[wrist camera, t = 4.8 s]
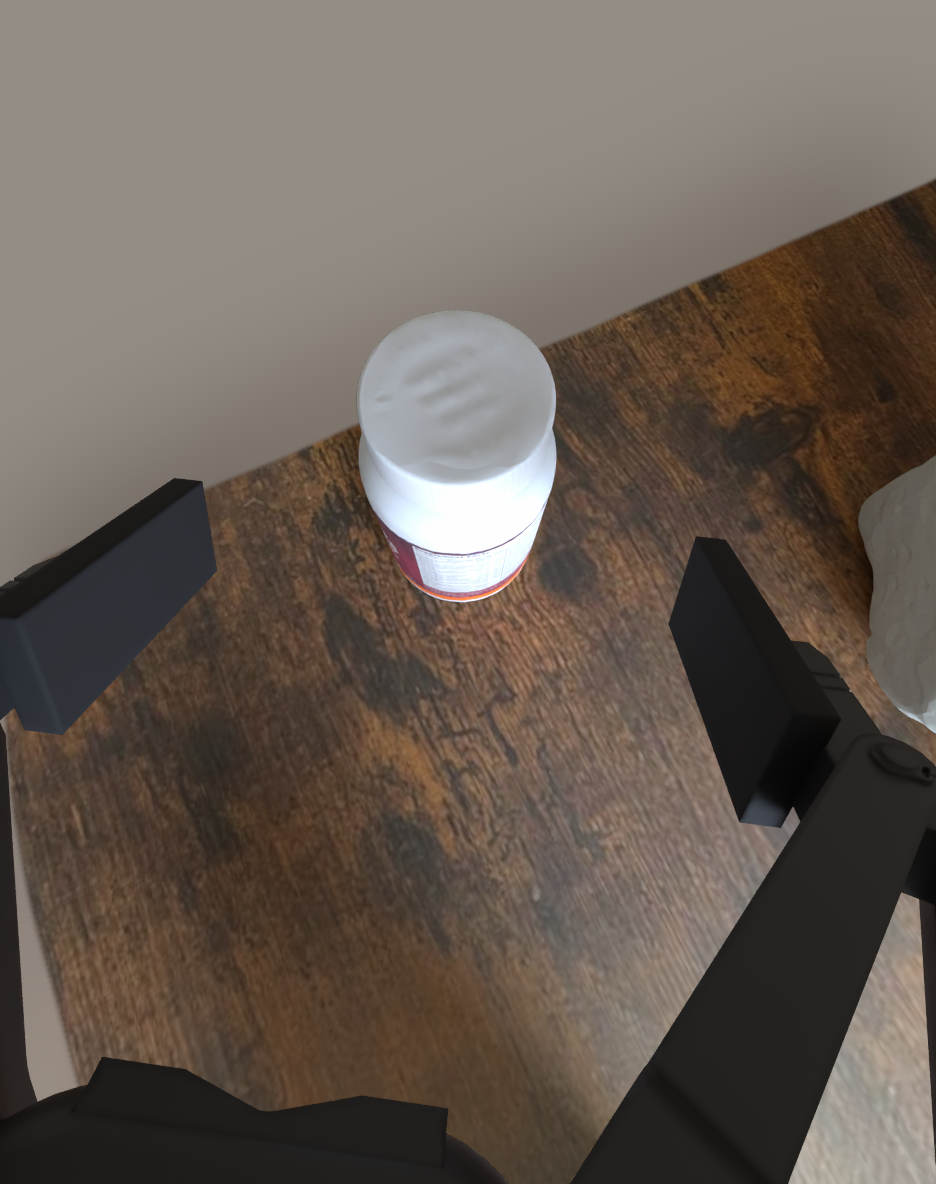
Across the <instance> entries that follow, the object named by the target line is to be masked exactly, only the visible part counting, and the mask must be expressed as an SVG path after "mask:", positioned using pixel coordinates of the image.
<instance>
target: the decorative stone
mask: <svg viewBox="0 0 936 1184" xmlns="http://www.w3.org/2000/svg"><path fill="white" fill-rule="evenodd" d="M858 526H859V530H860V533H861V536H862V539H863V541H864V548H865V550H866V553H867V556H868V559H869V561H870V563H871V566H872V568H873V577H874V578H873V583H874V590H873V594H872V601H871V607H870V614H869V627H870V629H871V632H872V634H871V635H870V637H869V638H868V640H867V642H866V647H865V651H866V656H867V660H868V664H869V667H870V670H871V672H872V674H873V676H874V677H875V679H876V680H877V682H878V684H879V686H880V687H881V689H882V691H883V692H884V693H885V694H886V695H887V696H888V698H889V699H890V700H891V701H892V702H893V703H894V705H895V706H896V707H897V708H898V709H899V710H900V711H902V712H903V713H904V714H905V715H907V716H908V717H910V718H913V719H915V720H917V721H919V722H921V723H923V724H924V725H925V726H926V727H927V728H929V729H930V730H932V731H933V732H934V733H936V455H935V456H934V457H932V458H931V459H929V460H928V461H927V462H926V463H924V464H923V465H922V466H919V467H916V468H913V469H911V470H910V471H908V472H906V473H904V474H902V475H901V476H899V477H898V478H896V479H895V480H893V481H892V482H890V483H889V484H887V485H886V486H884V487H883V488H881V489H879V490H878V491H876V492H875V493H874V494H873V495H871V496H870V497H869V498H868V499H866V501H865V502H864V504H863V505H862V507H861V510H860V513H859V517H858Z"/></svg>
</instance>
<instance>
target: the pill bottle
mask: <svg viewBox="0 0 936 1184" xmlns="http://www.w3.org/2000/svg"><path fill="white" fill-rule="evenodd" d="M356 399H357V414H358V420H359V423H360V427H361V431H362V434H361V438H360V445H359V469H360V476H361V480H362V483H363V486H364V489H365V492H366V495H367V498H368V501H369V503H370V505H371V508H372V509H373V511H374V513H375V514H376V517H377V519H378V521H379V523H380V526H381V529H382V531H383V533H384V535H385V538H386V540H387V543H388V545H389V547H390V549H391V552H392V554H393V556H394V559H395V561H396V563H397V565H398V567H399V568H400V570H401V571H402V573H403V574H404V575H405V577H406V578H407V579H408V580H409V581H410V582H411V583H412V584H413V585H415V586H416V587H417V588H419V589H420V590H421V591H423V592H425V593H427V594H428V595H431V596H433V597H435V598H438V599H442V600H446V601H454V602H468V601H475V600H479V599H483V598H486V597H488V596H490V595H493V594H495V593H496V592H498V591H500V590H501V589H503V588H504V587H505V586H507V585H508V584H509V583H510V582H511V581H512V580H513V579H514V578H515V577H516V575H517V574H518V573H519V572H520V570H521V569H522V567H523V565H524V563H525V562H526V559H527V557H528V555H529V552H530V550H531V547H532V544H533V541H534V538H535V535H536V532H537V529H538V526H539V523H540V520H541V517H542V514H543V511H544V509H545V506H546V503H547V500H548V497H549V494H550V491H551V489H552V484H553V480H554V475H555V469H556V444H555V438H554V434H553V430H552V426H553V421H554V416H555V409H556V392H555V385H554V380H553V377H552V374H551V370H550V368H549V366H548V364H547V362H546V360H545V358H544V356H543V355H542V353H541V352H540V350H539V349H538V348H537V346H536V345H535V344H534V343H533V342H532V341H531V340H530V339H529V338H528V337H527V336H526V335H525V334H524V333H522V332H521V331H520V330H518V329H517V328H515V327H514V326H512V325H510V324H509V323H507V322H505V321H503V320H501V319H499V318H497V317H494V316H491V315H488V314H484V313H479V312H475V311H467V310H447V311H439V312H432V313H429V314H426V315H422V316H419V317H416V318H414V319H412V320H410V321H408V322H406V323H404V324H402V325H401V326H399V327H398V328H396V329H394V330H393V331H392V332H391V333H390V334H388V335H387V336H386V337H384V338H383V340H382V341H381V342H379V344H378V345H377V346H376V347H375V348H374V350H373V351H372V353H371V354H370V356H369V357H368V359H367V361H366V363H365V365H364V367H363V369H362V372H361V375H360V379H359V382H358V387H357V396H356Z"/></svg>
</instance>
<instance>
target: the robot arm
mask: <svg viewBox="0 0 936 1184" xmlns="http://www.w3.org/2000/svg"><path fill="white" fill-rule="evenodd" d="M216 571H217V568H216V562H215V556H214V549H213V543H212V537H211V531H210V525H209V519H208V513H207V507H206V501H205V495H204V489H203V483H202V481H195V480H186V479H176V478H174V479H172V480H171V481H169V482H168V483H166V484H165V485H163V486H162V487H161V488H159V489H158V490H156V491H155V492H153V493H152V494H150V495H149V496H147V497H146V498H144V499H143V500H141V501H140V502H138V503H137V504H135V505H134V506H132V507H131V508H129V509H128V510H126V511H125V512H123V513H122V514H121V515H119V516H118V517H116V518H115V519H113V520H112V521H110V522H109V523H107V524H106V525H104V526H103V527H101V528H100V529H98V530H97V531H95V532H94V533H92V534H91V535H89V536H88V537H86V538H85V539H83V540H82V541H80V542H79V543H77V544H76V545H75V546H73V547H72V548H70V549H69V550H67V551H66V552H64V553H63V554H61V555H60V556H57V557H54V558H52V559H49V560H46V561H44V562H41V563H39V564H36V565H33V566H32V567H30V568H29V569H27V570H26V571H24V572H23V573H21V574H20V575H18V576H17V577H15V578H14V581H9V582H7V583H6V584H4V585H3V586H1V587H0V720H1V719H2V718H3V717H4V716H5V715H7V714H8V713H9V712H10V711H11V710H12V709H13V708H14V707H15V709H16V712H17V714H18V716H19V719H20V721H21V723H22V726H23V728H24V730H28V731H35V732H43V733H51V734H59V735H63V734H64V733H65V731H66V730H67V729H68V728H69V727H70V726H71V725H72V724H73V723H74V722H75V721H76V720H77V719H78V718H79V717H80V716H81V715H82V713H83V712H84V711H85V710H86V709H87V708H88V707H89V706H90V705H91V704H92V703H93V702H94V701H95V700H96V699H97V698H98V696H99V695H100V694H101V693H102V692H103V691H104V690H105V689H106V688H107V687H108V686H109V685H110V684H111V683H112V682H113V681H114V680H115V678H116V677H117V676H118V675H119V674H120V673H121V672H122V671H123V670H124V669H125V668H126V667H127V666H128V665H129V664H130V663H131V661H132V660H133V659H134V658H135V657H136V656H137V655H138V654H139V653H140V652H141V651H142V650H143V649H144V648H145V647H146V646H147V644H148V643H149V642H150V641H151V640H152V639H153V638H154V637H155V636H156V635H157V634H158V633H159V632H160V631H161V630H162V629H163V628H164V626H165V625H166V624H167V623H168V622H169V621H170V620H171V619H172V618H173V617H174V616H175V615H176V614H177V613H178V612H179V611H180V609H181V608H182V607H183V606H184V605H185V604H186V603H187V602H188V601H189V600H190V599H191V598H192V597H193V596H194V595H195V594H196V593H197V591H198V590H199V589H200V588H201V587H202V586H203V585H204V584H205V583H206V582H207V581H208V580H209V579H210V578H211V577H212V576H213V574H214V573H215V572H216ZM669 626H670V629H671V632H672V635H673V637H674V640H675V643H676V646H677V649H678V651H679V654H680V657H681V660H682V663H683V665H684V668H685V671H686V674H687V677H688V679H689V682H690V685H691V688H692V691H693V693H694V696H695V699H696V702H697V705H698V708H699V710H700V713H701V716H702V719H703V722H704V724H705V727H706V730H707V733H708V736H709V738H710V741H711V744H712V747H713V750H714V752H715V755H716V758H717V761H718V764H719V766H720V769H721V772H722V775H723V778H724V780H725V783H726V786H727V789H728V792H729V794H730V797H731V800H732V803H733V806H734V808H735V811H736V814H737V817H738V820H739V822H741V823H748V824H756V825H764V826H772V827H779V828H781V826H782V825H783V823H784V821H785V819H786V818H787V816H788V814H789V812H790V810H791V809H792V807H794V809H795V811H796V813H797V815H798V817H799V820H800V824H799V825H798V827H797V828H796V830H795V832H794V833H793V835H792V836H791V838H790V839H789V841H788V843H787V844H786V846H785V847H784V849H783V851H782V852H781V854H780V855H779V857H778V858H777V860H776V862H775V863H774V865H773V866H772V868H771V870H770V871H769V873H768V874H767V876H766V877H765V879H764V881H763V882H762V884H761V885H760V887H759V889H758V890H757V892H756V893H755V895H754V896H753V898H752V900H751V901H750V903H749V904H748V906H747V908H746V909H745V911H744V912H743V914H742V915H741V917H740V919H739V920H738V922H737V923H736V925H735V927H734V928H733V930H732V931H731V933H730V934H729V936H728V938H727V939H726V941H725V942H724V944H723V946H722V947H721V949H720V950H719V952H718V953H717V955H716V957H715V958H714V960H713V961H712V963H711V965H710V966H709V968H708V969H707V971H706V972H705V974H704V976H703V977H702V979H701V980H700V982H699V984H698V985H697V987H696V988H695V990H694V991H693V993H692V995H691V996H690V998H689V999H688V1001H687V1003H686V1004H685V1006H684V1007H683V1009H682V1011H681V1012H680V1014H679V1015H678V1017H677V1018H676V1020H675V1022H674V1023H673V1025H672V1026H671V1028H670V1030H669V1031H668V1033H667V1034H666V1036H665V1037H664V1039H663V1041H662V1042H661V1044H660V1045H659V1047H658V1049H657V1050H656V1052H655V1053H654V1055H653V1056H652V1058H651V1059H650V1061H649V1062H648V1064H647V1065H646V1066H645V1067H644V1069H643V1070H642V1072H641V1073H640V1075H639V1076H638V1077H637V1079H636V1081H635V1082H634V1084H633V1085H632V1087H631V1088H630V1090H629V1091H628V1093H627V1095H626V1096H625V1098H624V1099H623V1101H622V1102H621V1104H620V1106H619V1107H618V1109H617V1110H616V1112H615V1113H614V1115H613V1117H612V1118H611V1120H610V1121H609V1123H608V1125H607V1126H606V1128H605V1129H604V1131H603V1132H602V1134H601V1136H600V1137H599V1139H598V1140H597V1142H596V1143H595V1145H594V1147H593V1148H592V1150H591V1151H590V1153H589V1154H588V1156H587V1158H586V1159H585V1161H584V1162H583V1164H582V1166H581V1167H580V1169H579V1170H578V1172H577V1173H576V1175H575V1177H574V1178H573V1180H572V1181H571V1183H570V1184H788V1183H789V1180H790V1177H791V1174H792V1172H793V1169H794V1166H795V1164H796V1161H797V1159H798V1156H799V1154H800V1151H801V1148H802V1146H803V1143H804V1141H805V1138H806V1136H807V1133H808V1130H809V1128H810V1125H811V1123H812V1120H813V1118H814V1115H815V1112H816V1110H817V1107H818V1105H819V1102H820V1100H821V1097H822V1094H823V1092H824V1089H825V1087H826V1084H827V1082H828V1079H829V1076H830V1074H831V1071H832V1069H833V1066H834V1064H835V1061H836V1058H837V1056H838V1053H839V1051H840V1048H841V1046H842V1043H843V1040H844V1038H845V1035H846V1033H847V1030H848V1028H849V1025H850V1022H851V1020H852V1017H853V1015H854V1012H855V1010H856V1007H857V1004H858V1002H859V999H860V997H861V994H862V992H863V989H864V986H865V984H866V981H867V979H868V976H869V974H870V971H871V968H872V966H873V963H874V961H875V958H876V955H877V953H878V950H879V948H880V945H881V943H882V940H883V937H884V935H885V932H886V930H887V927H888V925H889V922H890V919H891V917H892V914H893V912H894V909H895V907H896V904H897V901H898V899H899V896H900V894H901V892H903V893H905V894H908V895H910V896H913V897H915V898H918V899H919V903H920V919H921V935H922V952H923V968H924V984H925V1000H926V1016H927V1033H928V1049H929V1065H930V1081H931V1097H932V1114H933V1130H934V1146H935V1162H936V767H935V765H934V764H933V763H932V762H931V761H930V760H929V759H927V758H926V757H925V756H924V755H923V754H922V753H921V752H919V751H917V750H916V749H914V748H912V747H911V746H909V745H908V744H906V743H904V742H901V741H899V740H896V739H894V738H891V737H889V736H885V735H882V734H881V732H880V731H879V729H878V728H877V727H876V725H875V724H874V722H873V721H872V719H871V718H870V717H869V715H868V714H867V712H866V711H865V710H864V708H863V707H862V705H861V704H860V703H859V701H858V700H857V698H856V697H855V695H854V694H853V693H852V692H849V690H850V688H849V687H848V686H847V684H846V683H845V681H844V680H843V678H840V674H839V673H838V671H837V670H836V669H835V667H834V666H833V664H832V663H831V661H830V660H829V659H828V658H827V657H826V656H825V655H823V654H822V653H821V652H820V651H818V650H817V649H816V648H815V647H813V646H812V645H811V644H809V643H808V642H799V641H791V640H790V638H789V637H788V635H787V634H786V632H785V631H784V629H783V628H782V626H781V624H780V623H779V621H778V620H777V618H776V617H775V615H774V614H773V612H772V611H771V609H770V607H769V606H768V604H767V603H766V601H765V600H764V598H763V597H762V595H761V593H760V592H759V590H758V589H757V587H756V586H755V584H754V583H753V581H752V580H751V578H750V576H749V575H748V573H747V572H746V570H745V569H744V567H743V566H742V564H741V562H740V561H739V559H738V558H737V556H736V555H735V553H734V552H733V550H732V549H731V547H730V545H729V544H728V542H727V541H726V540H723V539H714V538H705V537H696V538H695V542H694V545H693V548H692V551H691V554H690V557H689V561H688V564H687V567H686V570H685V573H684V576H683V580H682V583H681V586H680V589H679V592H678V596H677V599H676V602H675V605H674V608H673V611H672V615H671V618H670V621H669ZM13 859H14V858H13V842H12V827H11V811H10V796H9V780H8V764H7V749H6V735H5V732H4V730H3V728H2V726H1V724H0V1184H508V1182H507V1181H506V1180H505V1178H504V1177H503V1176H502V1175H501V1174H500V1173H499V1172H498V1171H497V1170H496V1169H495V1168H494V1167H493V1166H492V1165H491V1164H490V1163H489V1162H488V1161H487V1160H486V1159H485V1158H484V1157H482V1156H481V1155H480V1154H478V1153H477V1152H476V1151H474V1150H473V1149H472V1148H471V1147H469V1146H468V1145H467V1144H465V1143H463V1142H462V1141H460V1140H458V1139H456V1138H454V1137H452V1136H451V1135H449V1134H447V1133H446V1128H447V1117H448V1108H442V1107H435V1106H428V1105H422V1104H415V1103H408V1102H402V1101H395V1100H388V1099H381V1098H375V1097H368V1096H357V1097H352V1098H346V1099H340V1100H335V1101H329V1102H323V1103H318V1104H312V1105H307V1106H301V1107H295V1108H290V1109H284V1110H278V1111H271V1112H266V1111H261V1110H258V1109H256V1108H254V1107H252V1106H250V1105H249V1104H247V1103H245V1102H243V1101H241V1100H240V1099H238V1098H236V1097H234V1096H233V1095H231V1094H229V1093H227V1092H225V1091H224V1090H222V1089H220V1088H218V1087H216V1086H215V1085H213V1084H211V1083H209V1082H207V1081H206V1080H204V1079H202V1078H200V1077H198V1076H197V1075H195V1074H193V1073H191V1072H190V1071H188V1070H186V1069H180V1068H174V1067H167V1066H160V1065H154V1064H147V1063H140V1062H134V1061H127V1060H120V1059H113V1058H107V1057H102V1058H101V1060H100V1062H99V1064H98V1066H97V1068H96V1070H95V1071H94V1073H93V1075H92V1077H91V1079H90V1081H89V1083H88V1085H85V1086H80V1087H77V1088H73V1089H70V1090H67V1091H64V1092H60V1093H57V1094H54V1095H52V1096H50V1097H47V1098H45V1099H43V1100H41V1101H38V1102H37V1099H36V1096H35V1093H34V1090H33V1086H32V1083H31V1080H30V1076H29V1072H28V1067H27V1058H26V1045H25V1030H24V1014H23V998H22V983H21V967H20V952H19V936H18V921H17V906H16V890H15V874H14V860H13Z"/></svg>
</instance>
